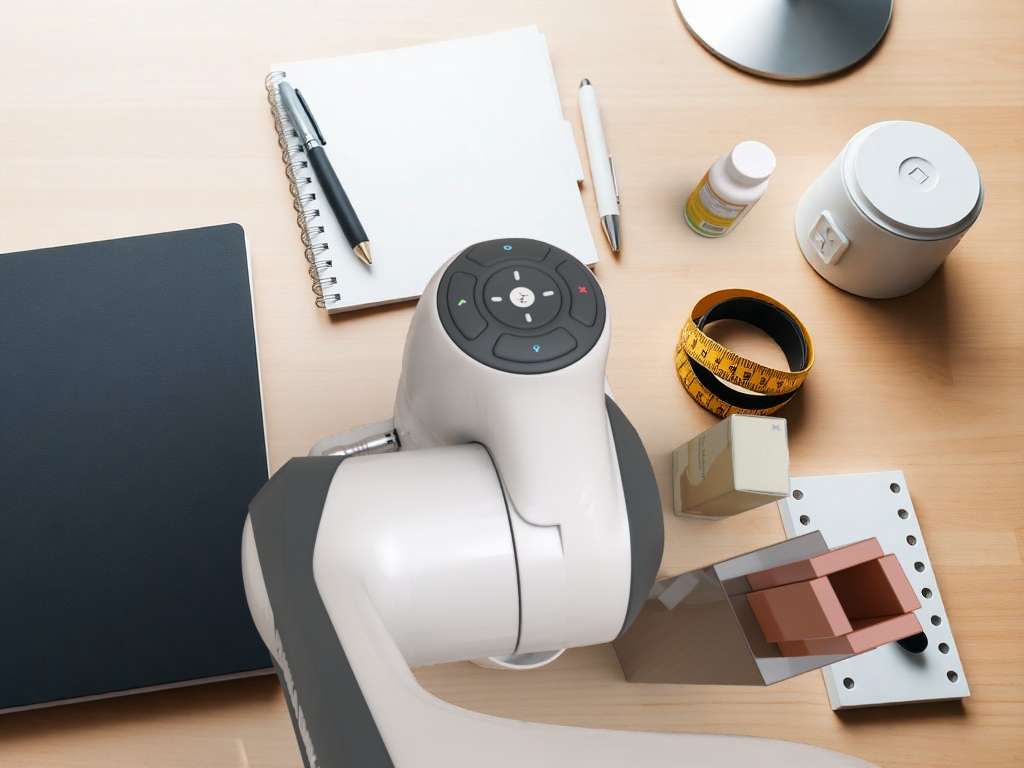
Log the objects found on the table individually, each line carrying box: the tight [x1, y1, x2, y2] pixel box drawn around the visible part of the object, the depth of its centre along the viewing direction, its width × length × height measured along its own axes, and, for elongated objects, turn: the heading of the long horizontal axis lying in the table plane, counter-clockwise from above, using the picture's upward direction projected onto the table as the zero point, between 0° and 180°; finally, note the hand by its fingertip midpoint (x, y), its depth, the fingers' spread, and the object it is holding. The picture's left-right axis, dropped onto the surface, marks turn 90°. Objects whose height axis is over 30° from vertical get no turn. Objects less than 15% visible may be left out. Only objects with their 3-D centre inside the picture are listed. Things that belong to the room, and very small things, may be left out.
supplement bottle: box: [683, 140, 777, 239], centre depth 79 cm, size 5×5×10 cm
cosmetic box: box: [672, 413, 792, 521], centre depth 68 cm, size 6×4×12 cm
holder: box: [612, 529, 924, 687], centre depth 55 cm, size 7×7×31 cm
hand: (443, 470), depth 62 cm, fingers closed
